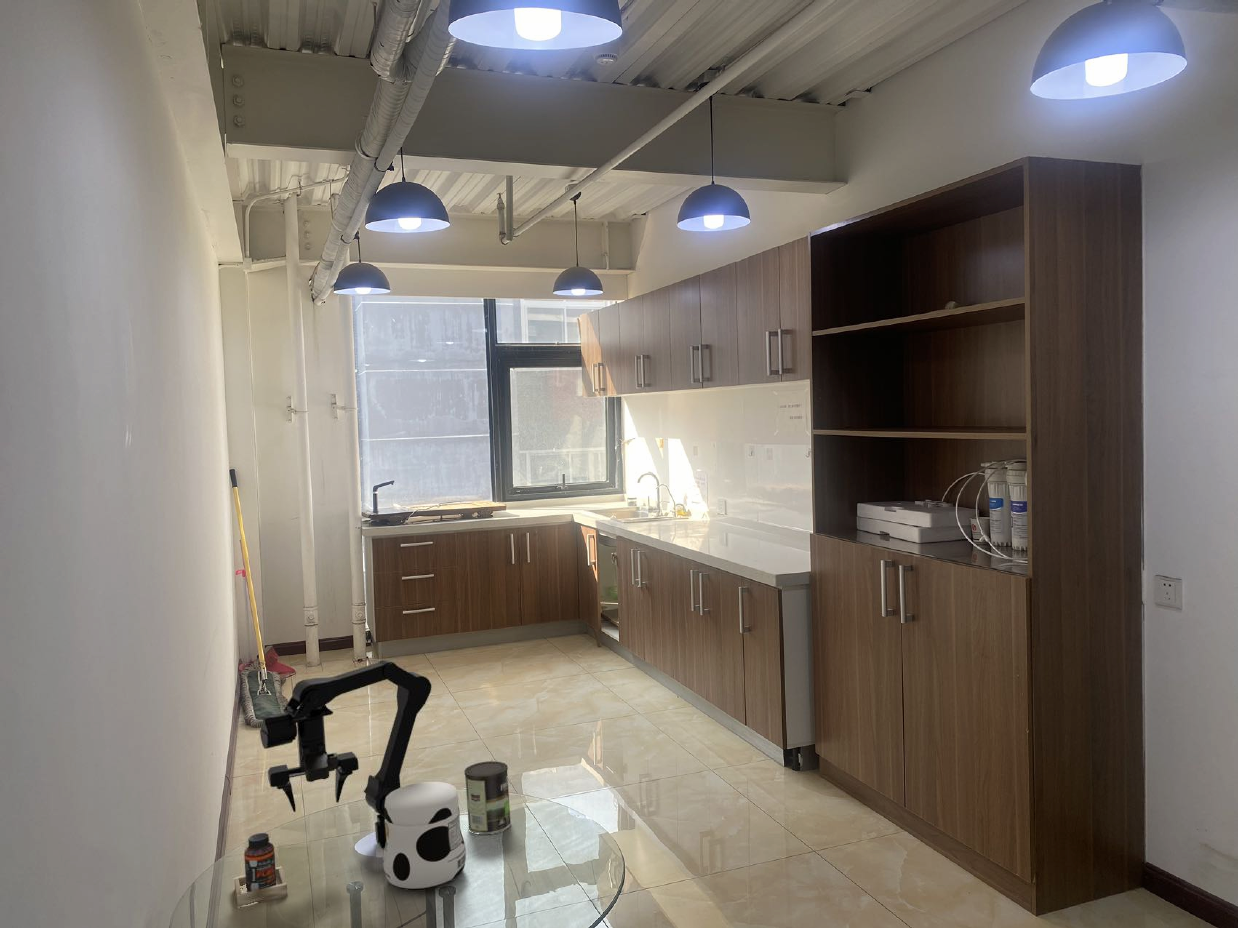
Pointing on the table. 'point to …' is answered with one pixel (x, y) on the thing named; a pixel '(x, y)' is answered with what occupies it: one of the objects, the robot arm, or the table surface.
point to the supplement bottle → (259, 863)
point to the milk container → (423, 836)
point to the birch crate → (261, 890)
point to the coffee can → (487, 797)
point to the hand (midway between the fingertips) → (316, 806)
